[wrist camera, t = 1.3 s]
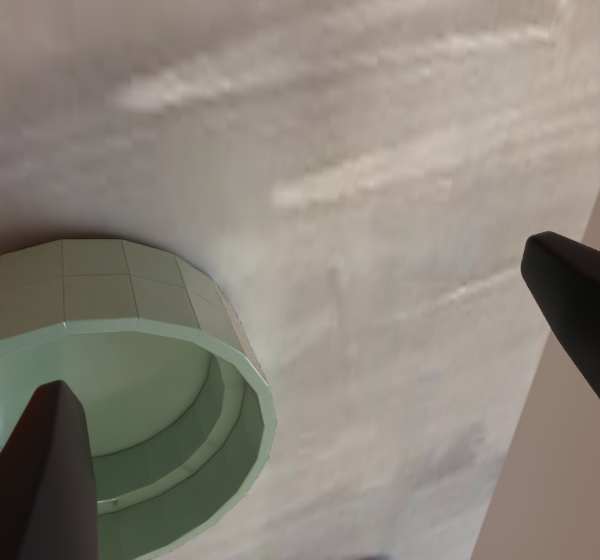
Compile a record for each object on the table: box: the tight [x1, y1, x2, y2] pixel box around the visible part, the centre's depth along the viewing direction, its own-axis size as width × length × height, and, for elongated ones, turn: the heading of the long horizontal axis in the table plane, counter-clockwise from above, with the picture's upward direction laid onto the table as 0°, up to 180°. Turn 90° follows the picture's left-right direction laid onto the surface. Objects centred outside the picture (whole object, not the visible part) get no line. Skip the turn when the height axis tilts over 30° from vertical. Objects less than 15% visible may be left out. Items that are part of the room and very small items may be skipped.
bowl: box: [0, 239, 277, 560], centre depth 23 cm, size 14×14×6 cm
